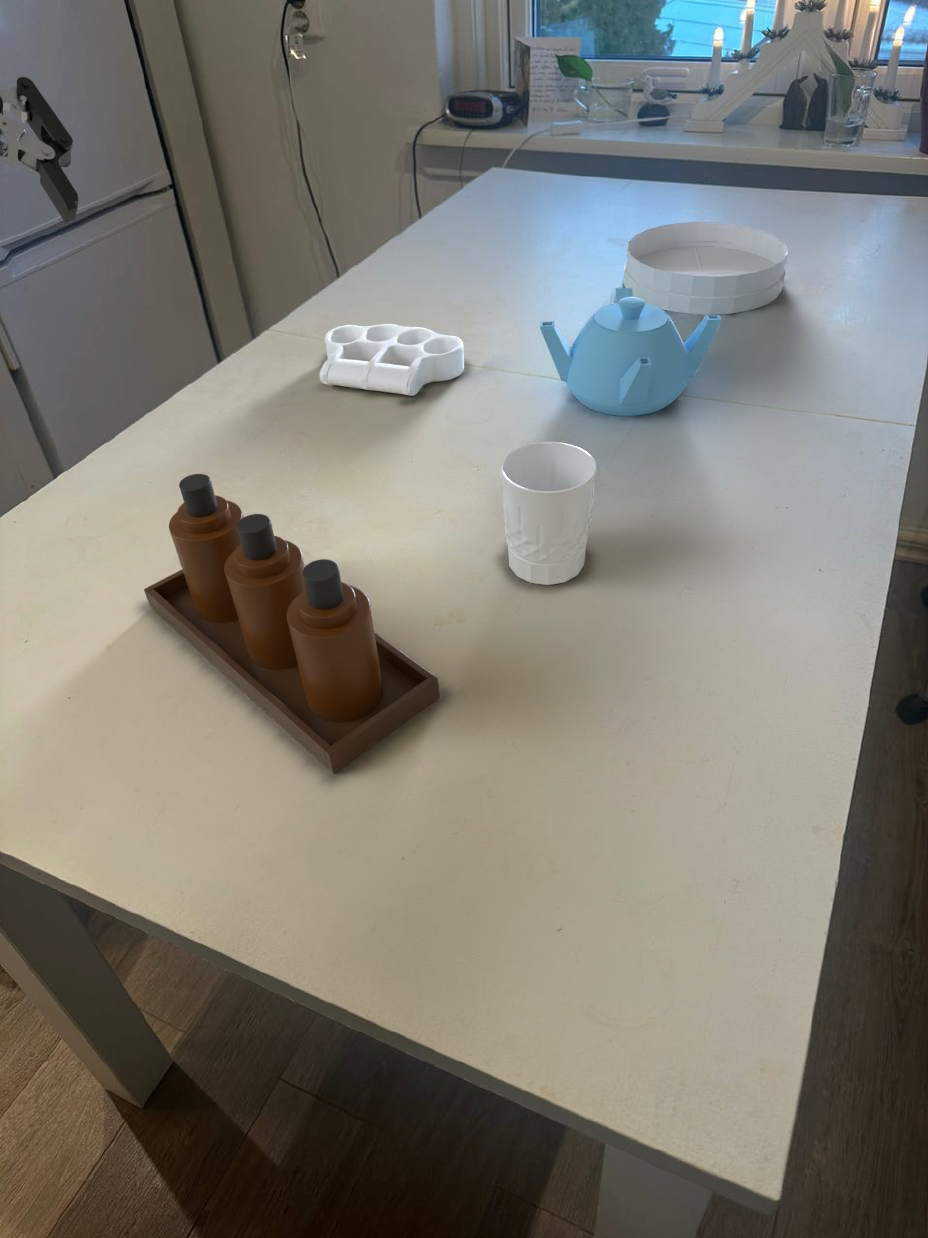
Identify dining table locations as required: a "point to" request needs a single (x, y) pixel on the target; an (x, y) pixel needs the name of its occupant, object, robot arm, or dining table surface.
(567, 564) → the white cup
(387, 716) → the tray
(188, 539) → the bottle
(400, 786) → the dining table surface
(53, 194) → the robot arm
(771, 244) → the dish
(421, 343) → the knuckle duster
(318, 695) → the bottle near
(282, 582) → the bottle mid
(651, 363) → the teapot
